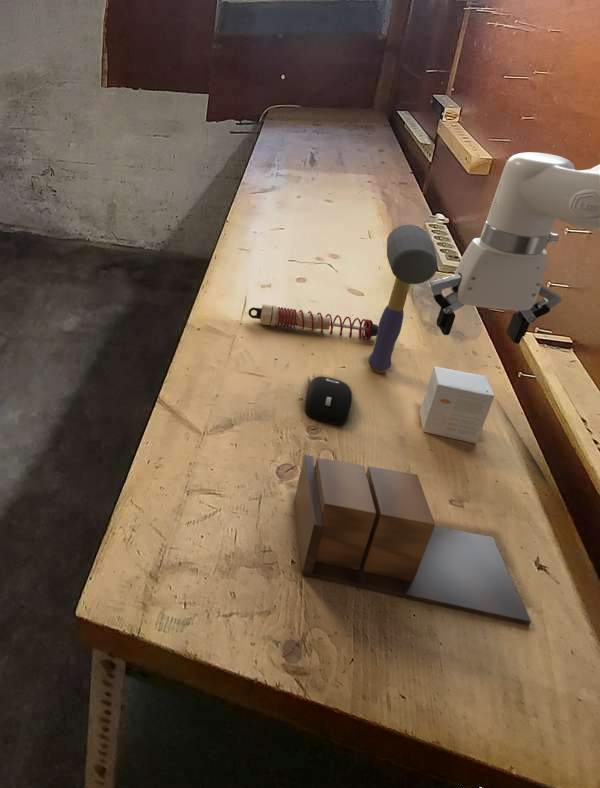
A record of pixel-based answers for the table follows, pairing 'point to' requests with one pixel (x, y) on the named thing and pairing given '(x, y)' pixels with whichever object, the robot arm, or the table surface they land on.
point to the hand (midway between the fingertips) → (477, 334)
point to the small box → (456, 404)
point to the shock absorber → (309, 320)
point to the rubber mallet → (402, 286)
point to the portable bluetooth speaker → (328, 400)
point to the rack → (395, 542)
